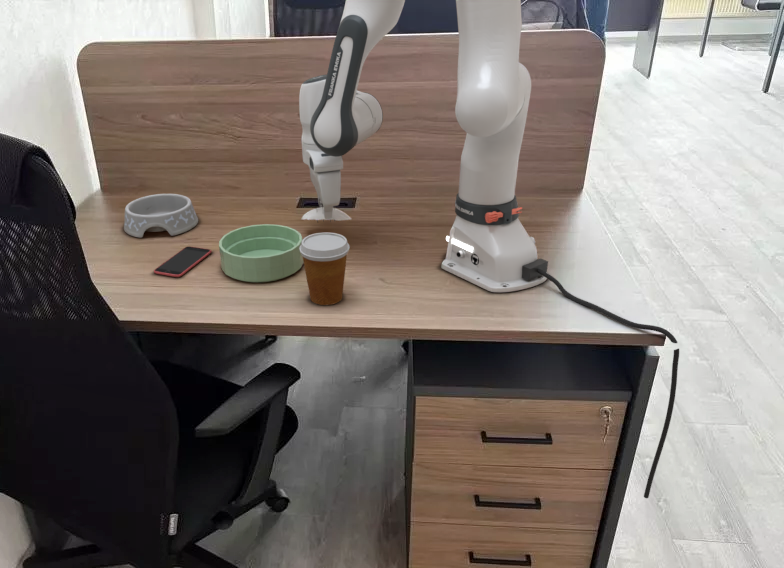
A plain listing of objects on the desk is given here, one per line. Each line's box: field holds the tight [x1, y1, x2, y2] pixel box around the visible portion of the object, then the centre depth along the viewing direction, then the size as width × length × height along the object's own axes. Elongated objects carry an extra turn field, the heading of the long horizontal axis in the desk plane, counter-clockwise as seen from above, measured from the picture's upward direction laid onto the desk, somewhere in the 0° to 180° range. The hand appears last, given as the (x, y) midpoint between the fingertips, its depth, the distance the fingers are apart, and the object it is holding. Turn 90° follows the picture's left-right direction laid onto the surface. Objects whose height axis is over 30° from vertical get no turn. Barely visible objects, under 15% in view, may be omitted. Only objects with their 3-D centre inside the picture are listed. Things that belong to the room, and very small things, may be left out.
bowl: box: [218, 223, 304, 283], centre depth 155 cm, size 18×18×6 cm
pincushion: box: [301, 198, 353, 224], centre depth 167 cm, size 12×6×6 cm, turn 76°
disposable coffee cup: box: [299, 231, 351, 306], centre depth 139 cm, size 10×10×12 cm
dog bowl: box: [123, 193, 199, 238], centre depth 179 cm, size 17×18×5 cm
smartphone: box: [153, 245, 212, 278], centre depth 160 cm, size 7×1×14 cm
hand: (325, 212), depth 167 cm, fingers closed on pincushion, 6 cm apart
